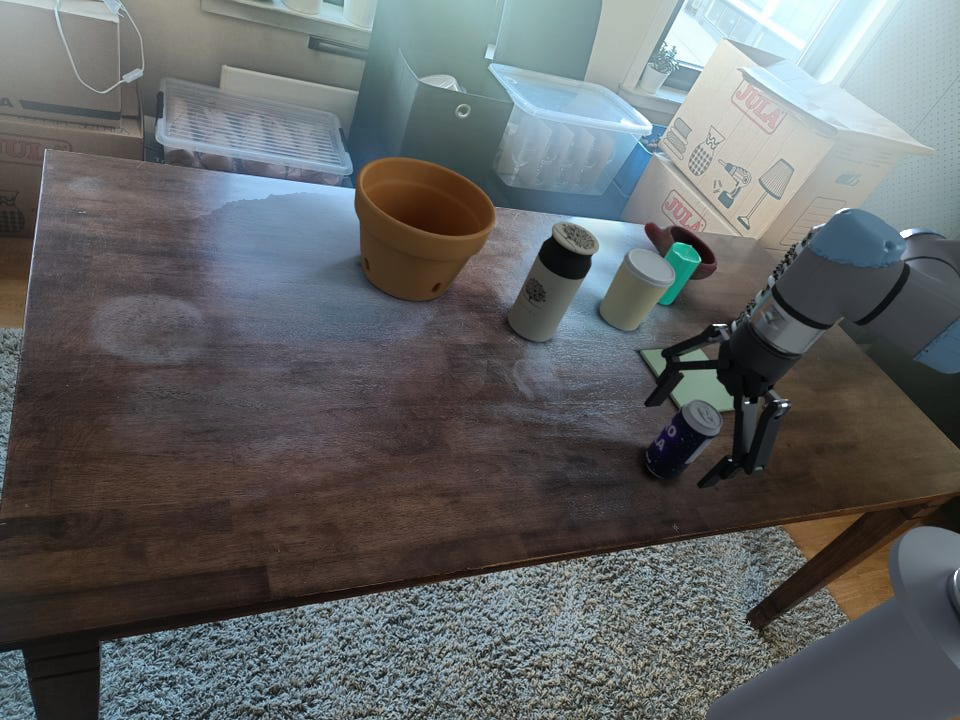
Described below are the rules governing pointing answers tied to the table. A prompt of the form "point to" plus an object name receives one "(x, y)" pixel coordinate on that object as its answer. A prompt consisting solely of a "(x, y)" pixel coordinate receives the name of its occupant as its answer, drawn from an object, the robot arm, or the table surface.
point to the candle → (680, 269)
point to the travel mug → (553, 281)
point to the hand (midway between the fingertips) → (677, 443)
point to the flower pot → (418, 225)
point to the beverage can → (683, 439)
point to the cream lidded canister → (636, 288)
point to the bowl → (676, 233)
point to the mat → (692, 381)
